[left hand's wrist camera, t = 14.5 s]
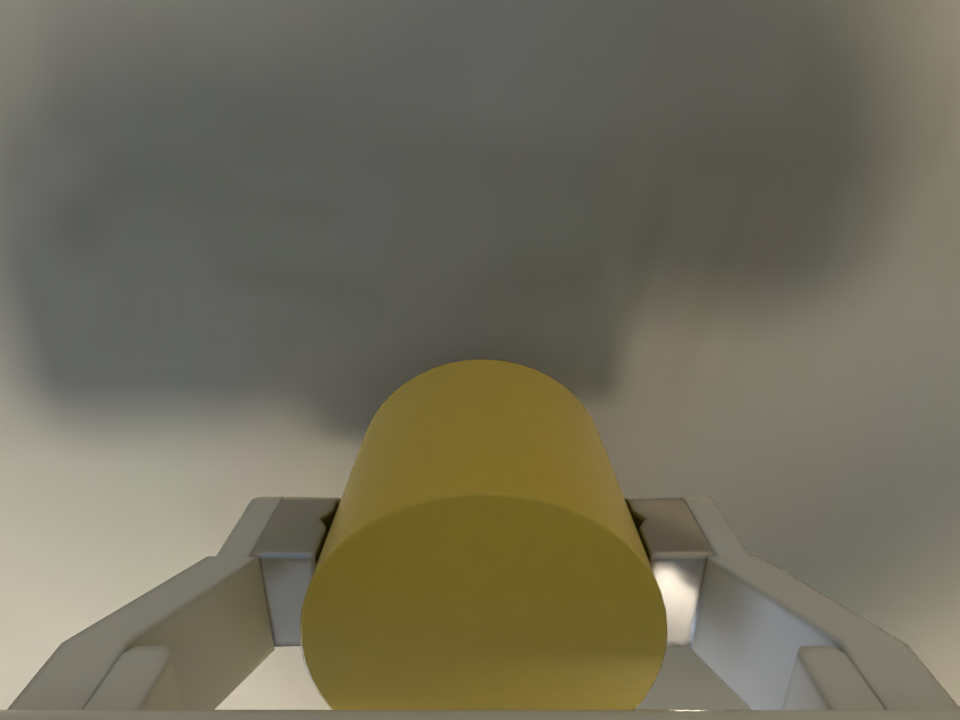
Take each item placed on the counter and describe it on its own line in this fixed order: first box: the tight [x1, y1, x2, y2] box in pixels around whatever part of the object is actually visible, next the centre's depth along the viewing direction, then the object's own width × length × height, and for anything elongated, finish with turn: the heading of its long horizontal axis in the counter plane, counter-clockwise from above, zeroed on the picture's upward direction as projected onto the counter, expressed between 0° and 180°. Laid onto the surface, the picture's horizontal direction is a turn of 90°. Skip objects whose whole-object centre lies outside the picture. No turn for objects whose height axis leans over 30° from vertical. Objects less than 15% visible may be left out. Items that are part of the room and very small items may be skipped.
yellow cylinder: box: [300, 359, 668, 710], centre depth 10 cm, size 5×5×4 cm
